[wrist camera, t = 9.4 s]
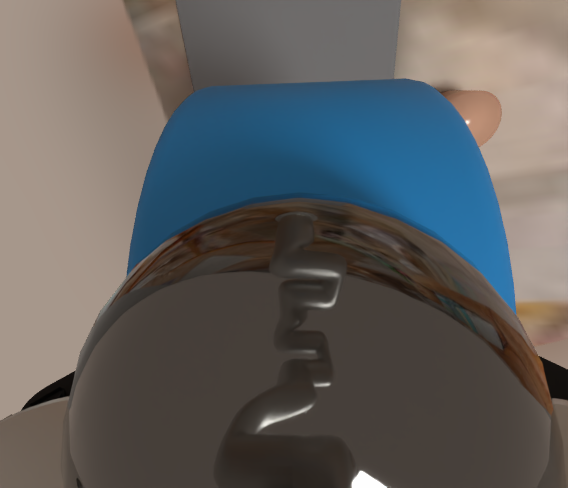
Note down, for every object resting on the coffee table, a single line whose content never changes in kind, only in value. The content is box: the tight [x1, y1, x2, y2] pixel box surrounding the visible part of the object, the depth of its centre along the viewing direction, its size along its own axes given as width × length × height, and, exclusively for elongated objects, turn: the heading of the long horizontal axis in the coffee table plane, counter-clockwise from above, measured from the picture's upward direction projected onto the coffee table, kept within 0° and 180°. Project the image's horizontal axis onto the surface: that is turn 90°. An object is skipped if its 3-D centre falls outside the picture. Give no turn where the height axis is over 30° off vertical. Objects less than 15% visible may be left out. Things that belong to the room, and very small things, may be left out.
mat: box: [176, 0, 401, 92], centre depth 27 cm, size 16×20×1 cm
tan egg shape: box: [441, 90, 502, 147], centre depth 28 cm, size 5×5×5 cm
